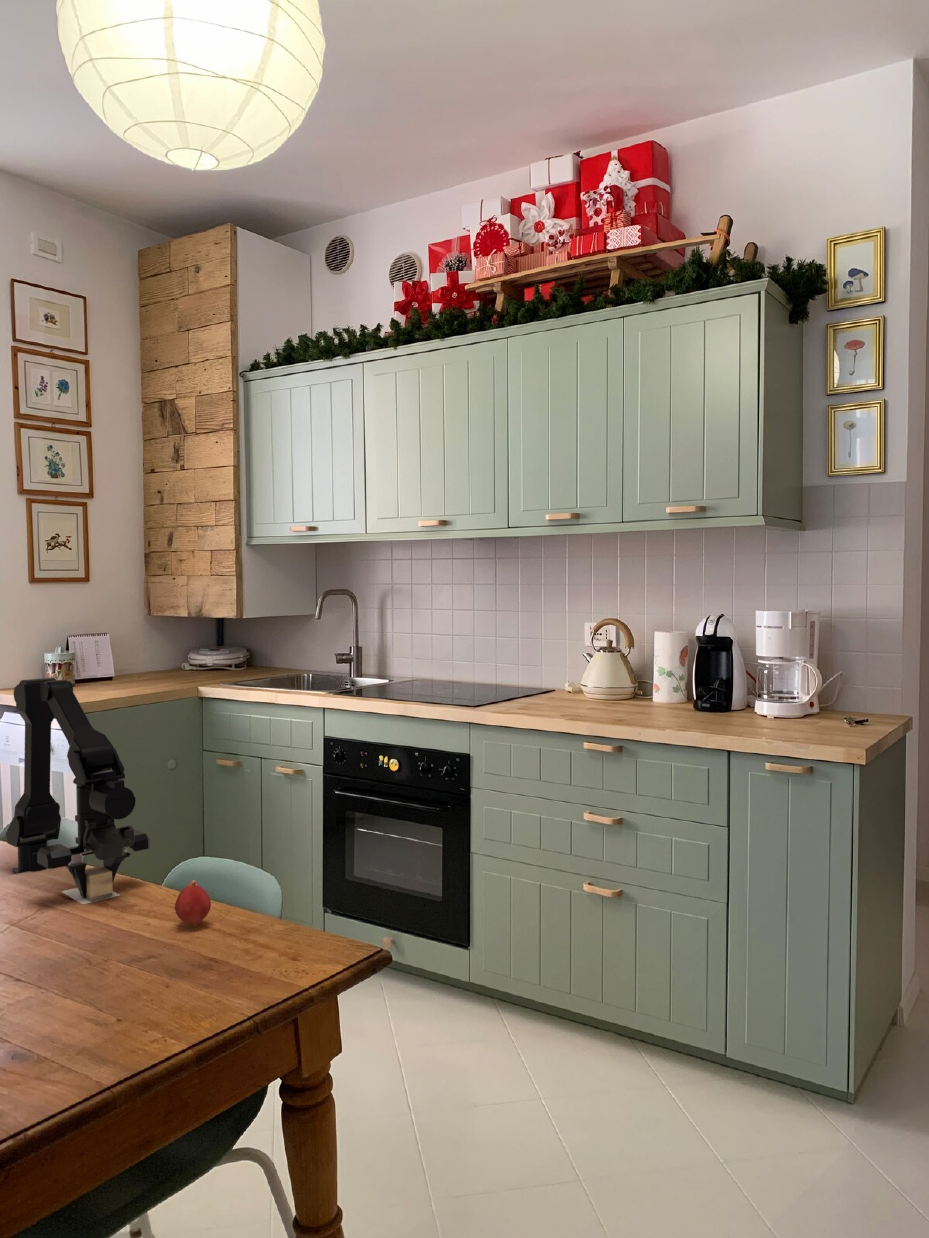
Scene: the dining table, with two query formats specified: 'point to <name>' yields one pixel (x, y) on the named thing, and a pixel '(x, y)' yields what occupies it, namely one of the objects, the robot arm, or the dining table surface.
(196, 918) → the onion
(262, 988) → the dining table surface
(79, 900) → the board
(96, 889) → the block
